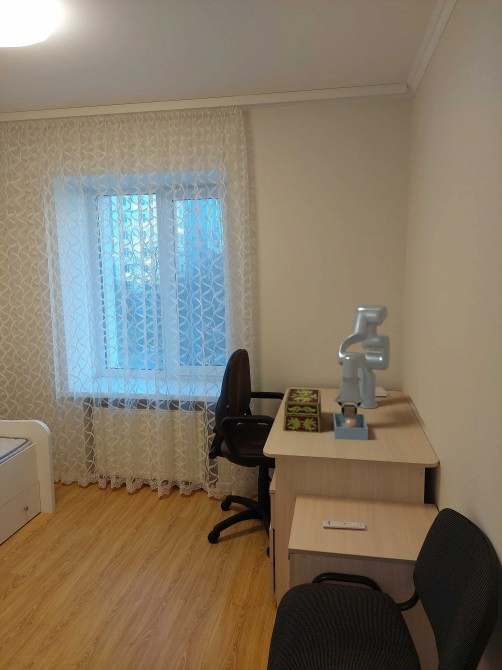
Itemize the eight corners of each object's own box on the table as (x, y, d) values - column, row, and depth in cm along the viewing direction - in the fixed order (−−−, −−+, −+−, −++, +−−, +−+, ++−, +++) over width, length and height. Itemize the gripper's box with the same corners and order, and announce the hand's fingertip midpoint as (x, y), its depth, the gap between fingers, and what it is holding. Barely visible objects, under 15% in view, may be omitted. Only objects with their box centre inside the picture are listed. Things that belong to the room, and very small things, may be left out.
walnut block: (343, 413, 233) (343, 404, 232) (353, 414, 232) (354, 404, 232) (344, 416, 228) (344, 407, 227) (354, 417, 227) (354, 407, 227)
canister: (344, 431, 226) (345, 417, 224) (355, 431, 225) (355, 418, 224) (345, 435, 221) (345, 421, 220) (355, 435, 220) (356, 421, 219)
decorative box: (287, 413, 255) (287, 387, 253) (321, 415, 252) (321, 388, 250) (283, 431, 228) (283, 402, 226) (320, 433, 225) (321, 404, 223)
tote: (333, 423, 239) (333, 412, 238) (362, 424, 237) (363, 414, 236) (334, 438, 218) (335, 427, 217) (367, 440, 216) (367, 428, 215)
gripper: (366, 378, 230) (365, 413, 233) (332, 377, 232) (331, 411, 235) (368, 382, 223) (367, 417, 225) (333, 381, 225) (332, 416, 228)
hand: (349, 414), depth 230 cm, fingers closed on walnut block, 5 cm apart
